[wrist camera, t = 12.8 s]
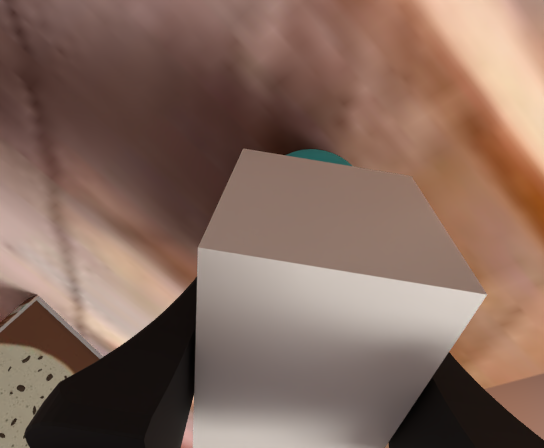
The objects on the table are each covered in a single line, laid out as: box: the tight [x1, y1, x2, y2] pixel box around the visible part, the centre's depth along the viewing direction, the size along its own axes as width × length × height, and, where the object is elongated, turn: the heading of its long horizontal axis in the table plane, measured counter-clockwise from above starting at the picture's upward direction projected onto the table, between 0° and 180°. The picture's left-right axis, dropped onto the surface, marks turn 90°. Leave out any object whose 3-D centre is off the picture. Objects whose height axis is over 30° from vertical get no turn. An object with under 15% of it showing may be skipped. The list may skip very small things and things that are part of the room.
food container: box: [0, 295, 103, 448], centre depth 23 cm, size 12×6×10 cm, turn 23°
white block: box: [193, 148, 487, 448], centre depth 12 cm, size 6×10×6 cm, turn 172°
